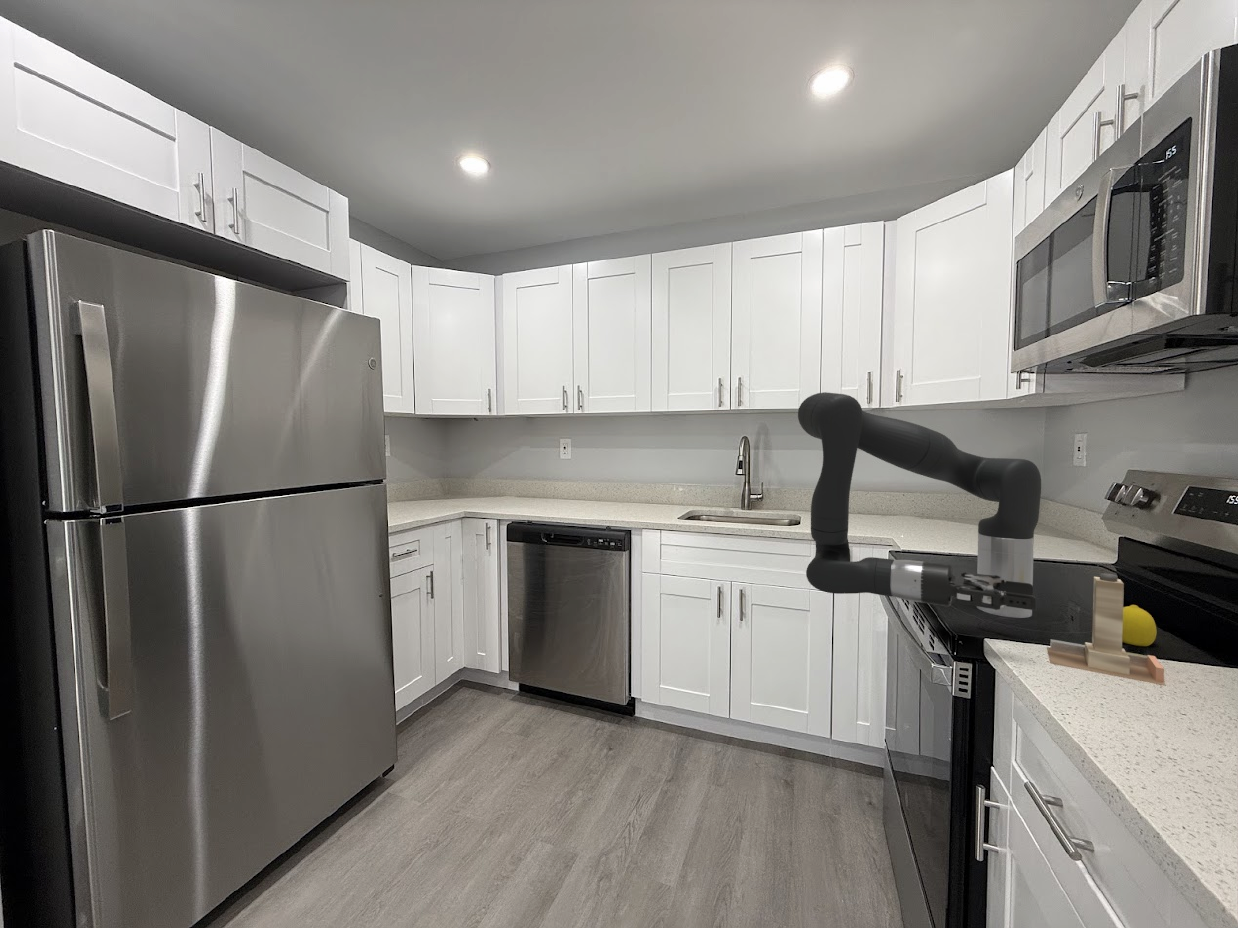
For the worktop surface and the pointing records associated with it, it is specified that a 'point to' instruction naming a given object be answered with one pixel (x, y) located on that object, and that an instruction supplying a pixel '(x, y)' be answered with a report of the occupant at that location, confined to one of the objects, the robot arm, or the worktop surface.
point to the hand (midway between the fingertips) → (1033, 596)
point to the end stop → (1155, 668)
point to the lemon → (1138, 626)
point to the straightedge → (1080, 650)
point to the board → (1081, 663)
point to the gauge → (1107, 626)
